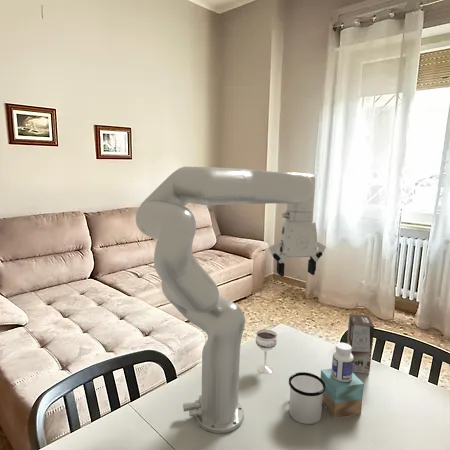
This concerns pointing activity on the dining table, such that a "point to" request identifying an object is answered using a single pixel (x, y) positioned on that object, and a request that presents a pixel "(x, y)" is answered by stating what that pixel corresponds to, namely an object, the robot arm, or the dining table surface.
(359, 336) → the coffee box
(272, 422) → the dining table surface
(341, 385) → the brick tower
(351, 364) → the pill bottle
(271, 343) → the wineglass
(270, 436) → the dining table surface
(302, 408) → the mug
